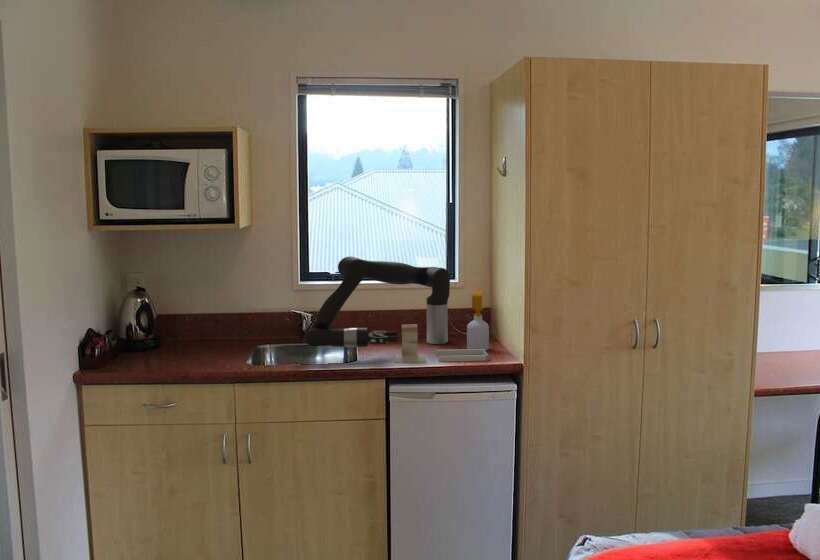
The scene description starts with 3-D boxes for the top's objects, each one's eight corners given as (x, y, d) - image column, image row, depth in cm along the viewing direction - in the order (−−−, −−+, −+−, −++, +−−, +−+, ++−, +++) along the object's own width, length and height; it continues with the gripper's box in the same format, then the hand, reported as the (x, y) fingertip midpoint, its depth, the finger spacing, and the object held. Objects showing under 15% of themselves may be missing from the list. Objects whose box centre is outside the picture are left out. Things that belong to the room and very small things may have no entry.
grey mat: (394, 355, 260) (394, 354, 260) (424, 354, 261) (424, 353, 260) (395, 362, 248) (394, 361, 248) (425, 361, 249) (425, 361, 249)
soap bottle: (490, 347, 272) (490, 290, 269) (486, 352, 264) (487, 293, 261) (469, 346, 275) (469, 289, 272) (465, 351, 266) (465, 292, 263)
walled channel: (436, 354, 260) (436, 349, 260) (484, 353, 261) (484, 348, 261) (438, 361, 249) (438, 356, 249) (488, 360, 250) (488, 355, 249)
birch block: (402, 356, 257) (401, 324, 255) (417, 356, 257) (416, 324, 255) (402, 359, 252) (402, 326, 250) (417, 359, 252) (417, 326, 250)
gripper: (355, 331, 245) (397, 330, 245) (356, 324, 259) (396, 324, 259) (355, 350, 245) (397, 350, 246) (356, 342, 260) (396, 342, 260)
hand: (397, 336), depth 253 cm, fingers open, 8 cm apart
